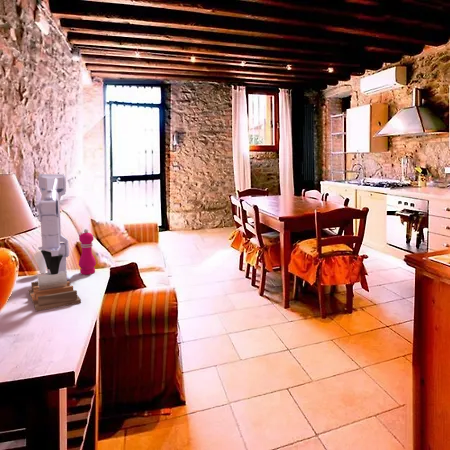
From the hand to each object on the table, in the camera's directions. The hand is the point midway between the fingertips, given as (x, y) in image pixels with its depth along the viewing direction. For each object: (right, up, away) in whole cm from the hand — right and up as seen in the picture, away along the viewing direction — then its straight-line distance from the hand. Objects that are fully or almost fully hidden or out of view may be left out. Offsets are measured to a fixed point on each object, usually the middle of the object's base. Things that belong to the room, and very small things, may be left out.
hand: (52, 271), depth 125 cm
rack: (0, -10, +2) cm, 10 cm away
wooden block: (0, -9, +1) cm, 9 cm away
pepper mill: (0, -5, +32) cm, 32 cm away
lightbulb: (-18, -5, +29) cm, 35 cm away
